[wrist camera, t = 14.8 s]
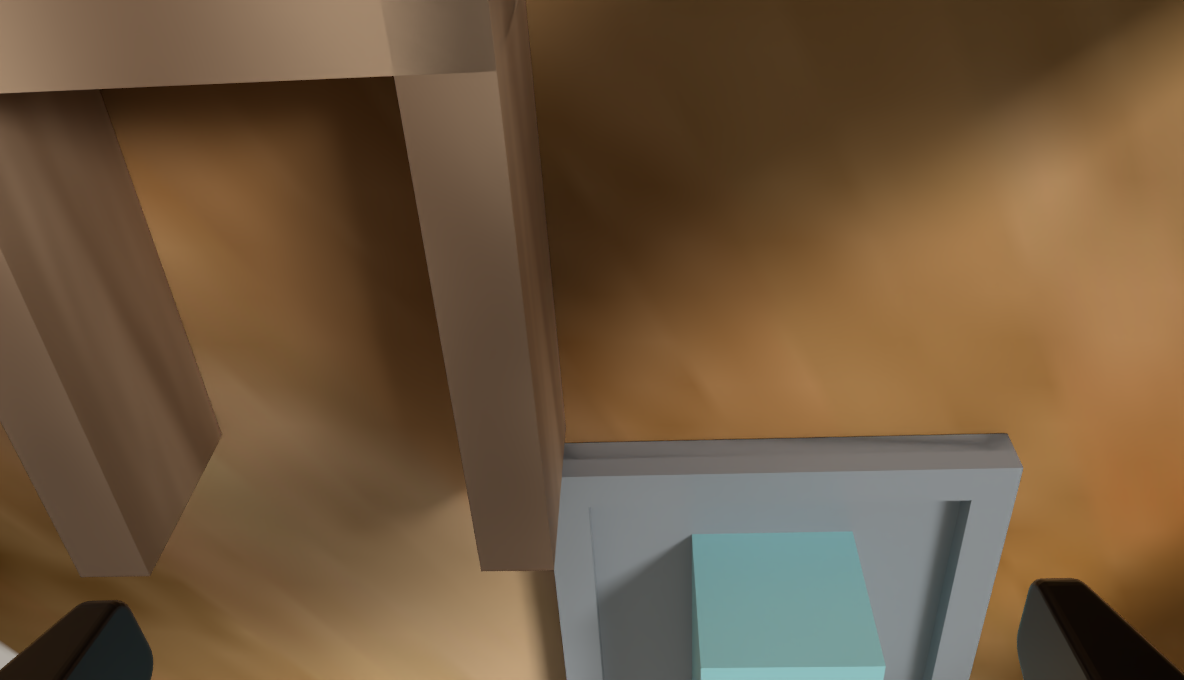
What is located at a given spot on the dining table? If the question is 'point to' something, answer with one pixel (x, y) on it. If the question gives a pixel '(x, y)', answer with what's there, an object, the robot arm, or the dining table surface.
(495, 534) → the bay
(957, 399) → the dining table surface
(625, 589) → the tray
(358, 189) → the dining table surface
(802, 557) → the block
